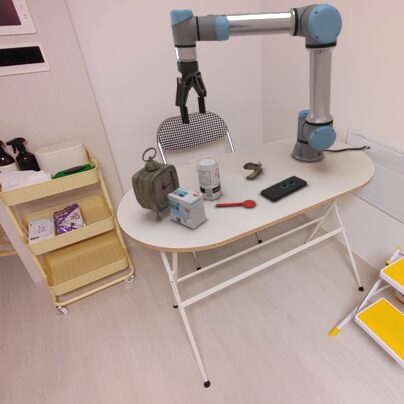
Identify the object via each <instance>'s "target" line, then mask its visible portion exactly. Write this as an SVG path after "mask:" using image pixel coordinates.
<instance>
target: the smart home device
mask: <svg viewBox="0 0 404 404" xmlns="http://www.w3.org/2000/svg"><path fill="white" fill-rule="evenodd" d="M307 185H308V181H307V180H305V179H303V178H300V177H299V176H296V175H292V176H290V177H287V178H286V179H283V180H281V181H279V182H277V183H275V184H273V185H270V186H269V187H266V188H264V189H262V190H260V195H261V196H262V197H264V198H266V199H267V200H269V201H270V202H272V203H275V202H278V201H279V200H281V199H283V198H286V197H287V196H289V195H292V194H293V193H295V192H298V191H299V190H301V189H303V188H306V187H307Z"/></svg>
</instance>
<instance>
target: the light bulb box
mask: <svg viewBox="0 0 404 404" xmlns="http://www.w3.org/2000/svg"><path fill="white" fill-rule="evenodd" d="M168 200H169V205H170V206H169V211H170V214H171V219H172V221H175V222H177V223H180V224H181V225H184V226H186V227H188V228H190V229H192V230H193V229H196V228H197V227H199V225H201V224H203V223H204V222H205V221H207V217H206V216H207V215H206V210H205V201H204V198H203V194H201V193H200V192H196V191H194V190H191V189H188V188H186V187H183V186H179V188H178V189H176V190H175V191H173V192H172V193H170V194H168Z"/></svg>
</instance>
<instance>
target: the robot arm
mask: <svg viewBox="0 0 404 404" xmlns="http://www.w3.org/2000/svg"><path fill="white" fill-rule="evenodd" d="M169 15H170V17H169V18H170V27H171V32H172V39H173V45H174V52H175V58H176V60H177V61H176V66H177V71H178V73H180V74H181V76H180V77H179V76H178V77H176V91H175V102H174V105H175V107H178V108H179V112H180V117H181V123H182V124H185V125H190V117H189V108H188V106H187V103H188V97H189V94H190V91H191V89H192V88H193V90H194V91H195V93H196V95H197V106H198V113H199V114H202V115H206V114H207V109H206V101H205V100H206V99H205V98H207V94H208V90H207V88H206V86H205V83H204V80H203V76H202V73H201V71H200V66H199V61H198V60H197V59H198V57H199V56H198V48H197V42H224V41H229V39H230V38H231V37H234V38H235V37H249V36H253V37H254V36H269V35H273V36H274V35H289V36H290V37H301V38H304V42H305V43H304V47H305V50H307V52H308V54H309V56H308V58H309V59H308V60H309V61H308V62H309V63H308V65H309V70H308V73H309V76H308V77H309V78H308V79H309V83H308V84H309V85H308V87H309V94H308V95H309V98H308V99H309V103H308V104H309V106H308V108H309V109H302V110H300V111H299V112H298V114H297V115H298V116H297V133H296V142H295V143H294V145H293V149H292V158H293V159H294V160H296V161H299V162H301V163H302V162H303V163H315V162H319V161H321V160H322V159H323V157H324V152H328V153H338V152H340V153H341V152H344V151H357V150H358V151H359V150H363V149H365V148H368V149H371V147H370V146H369V147H366V145H363V146H362V147H347V148H341V149H330V148H331V147H332V146H333V145H334V144H335V143H336V140H337V132H336V130H335V128H334V116H333V115H332V114H331V95H332V93H331V92H332V69H333V68H332V67H333V52H334V50H335V49H336V48H337V47H338V46H337V44H338V37H339V35H340V34H341V32H342V29H343V17H342V14H341V13H340V11H339V10H338V9H337V7H335V6H333V5H331V4H328V3H320V4H319V3H318V4H317V3H314V4H309V5H305V6H300V7H290V9H289V10H287V11H270V12H269V11H268V12H247V13H245V12H244V13H225V14H207V15H205V16H204V15H203V16H198V15H197V16H196V15H194V13H193V10H192V9H172V10H170V12H169Z"/></svg>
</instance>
